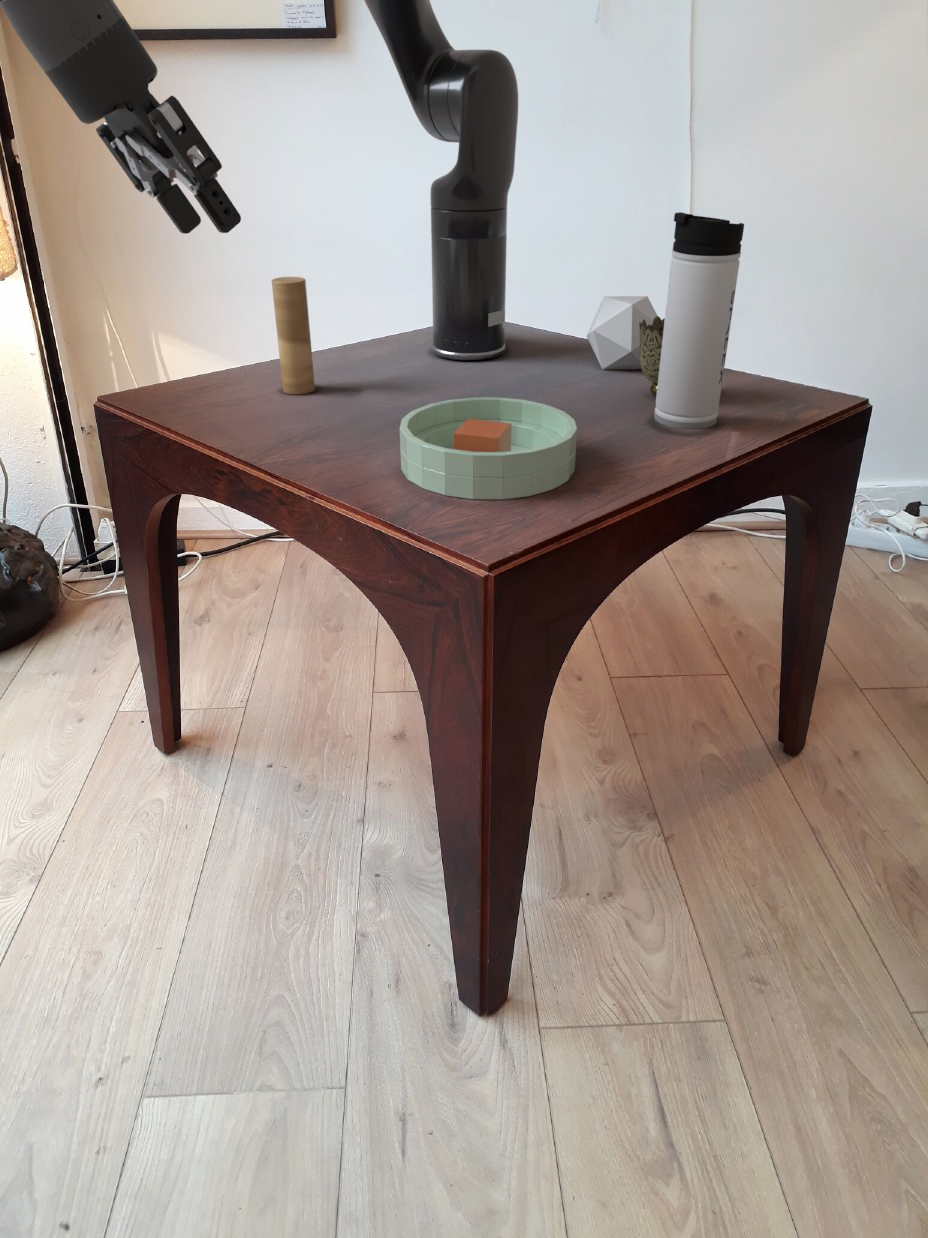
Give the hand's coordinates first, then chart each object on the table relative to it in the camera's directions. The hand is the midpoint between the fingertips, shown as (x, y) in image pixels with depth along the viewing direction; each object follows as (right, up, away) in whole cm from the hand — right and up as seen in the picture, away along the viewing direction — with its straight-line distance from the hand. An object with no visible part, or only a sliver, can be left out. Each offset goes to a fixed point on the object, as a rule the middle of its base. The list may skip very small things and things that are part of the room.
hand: (211, 227), depth 80 cm
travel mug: (+45, -15, +13) cm, 49 cm away
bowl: (+24, -21, +1) cm, 32 cm away
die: (+42, -4, +32) cm, 53 cm away
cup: (+45, -10, +21) cm, 51 cm away
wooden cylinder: (+4, -9, +23) cm, 25 cm away
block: (+24, -22, 0) cm, 32 cm away
